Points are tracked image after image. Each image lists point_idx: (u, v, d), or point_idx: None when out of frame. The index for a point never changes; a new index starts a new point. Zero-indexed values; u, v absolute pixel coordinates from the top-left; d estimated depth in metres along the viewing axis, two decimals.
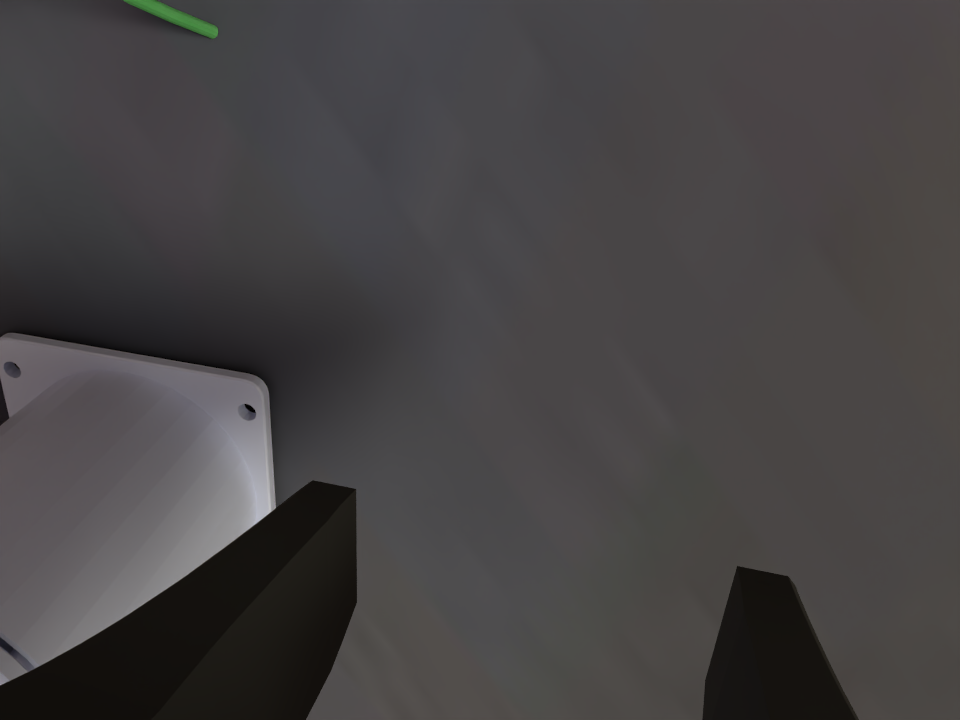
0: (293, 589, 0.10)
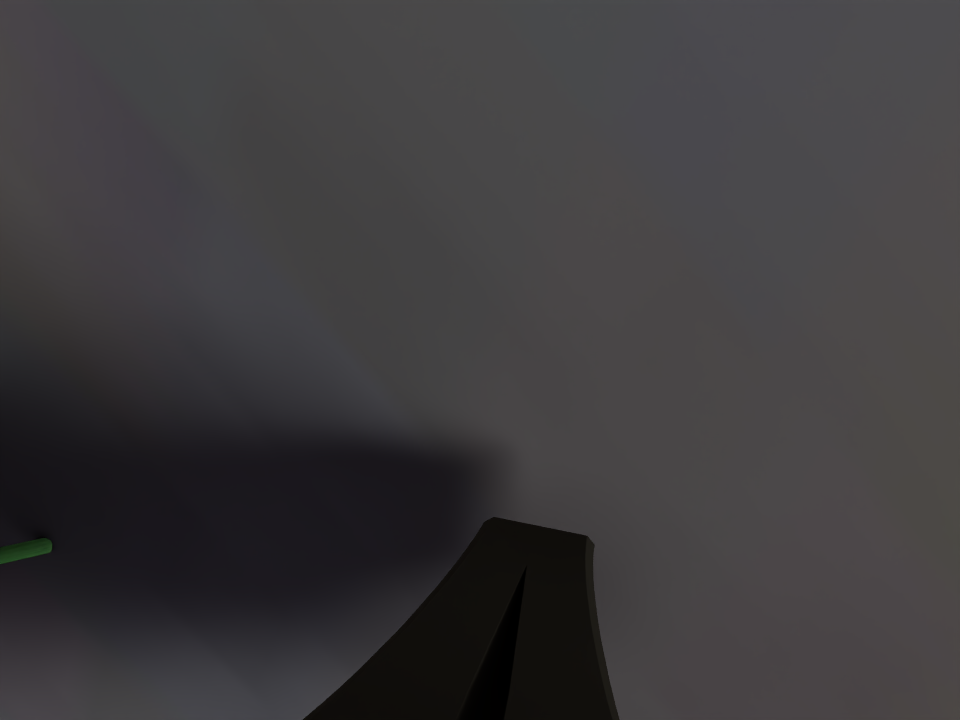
0: (504, 636, 0.10)
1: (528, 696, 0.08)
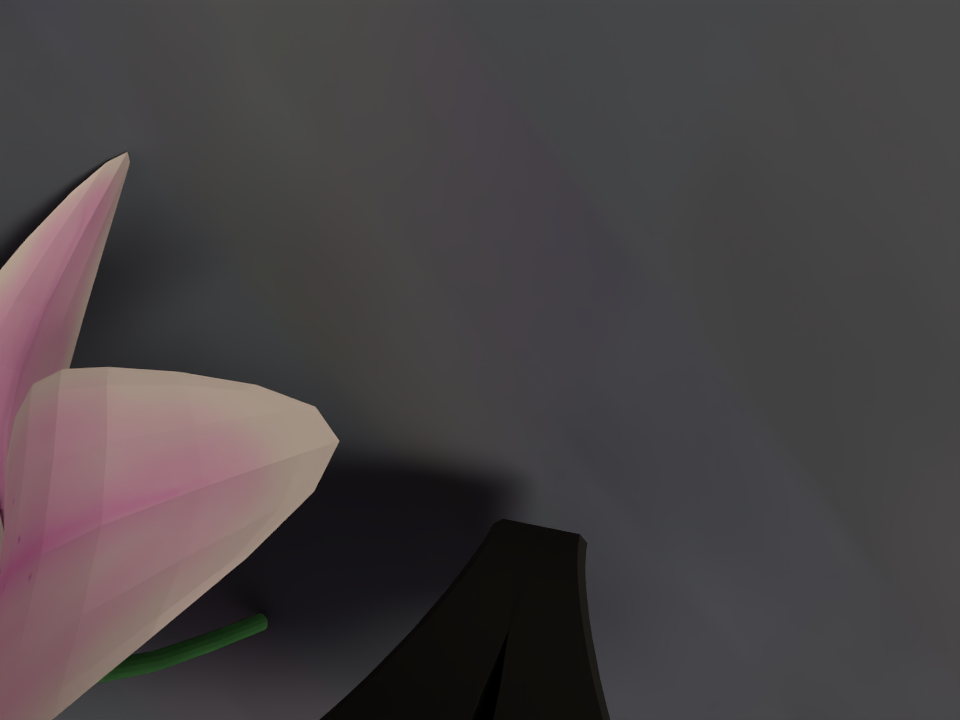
0: None
1: (519, 694, 0.08)
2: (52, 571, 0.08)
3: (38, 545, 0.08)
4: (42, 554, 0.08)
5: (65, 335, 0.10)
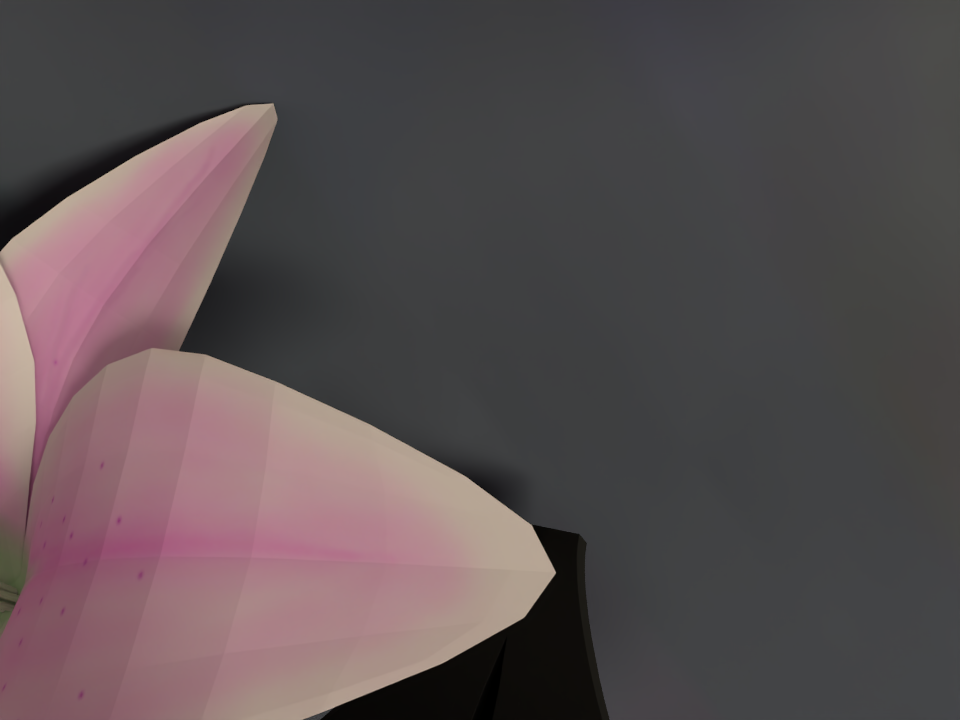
0: None
1: (517, 693, 0.08)
2: (176, 584, 0.07)
3: (148, 538, 0.08)
4: (160, 556, 0.08)
5: (179, 291, 0.09)
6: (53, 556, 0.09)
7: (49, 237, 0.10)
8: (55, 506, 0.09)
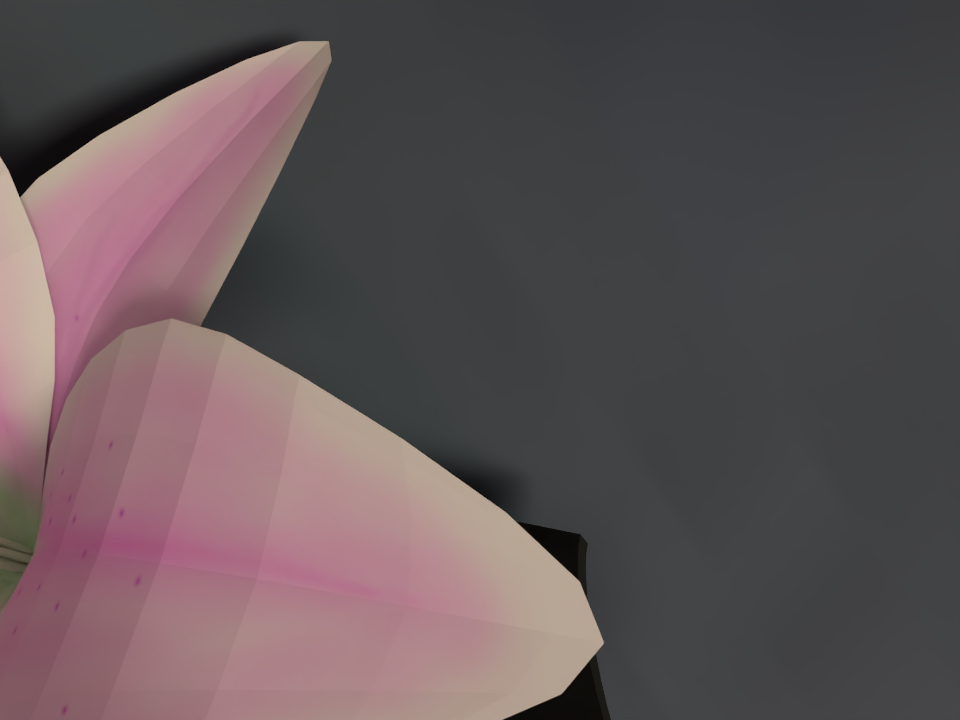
0: None
1: None
2: (174, 597, 0.06)
3: (150, 539, 0.07)
4: (160, 562, 0.07)
5: (208, 252, 0.08)
6: (56, 538, 0.08)
7: (77, 177, 0.09)
8: (64, 480, 0.08)
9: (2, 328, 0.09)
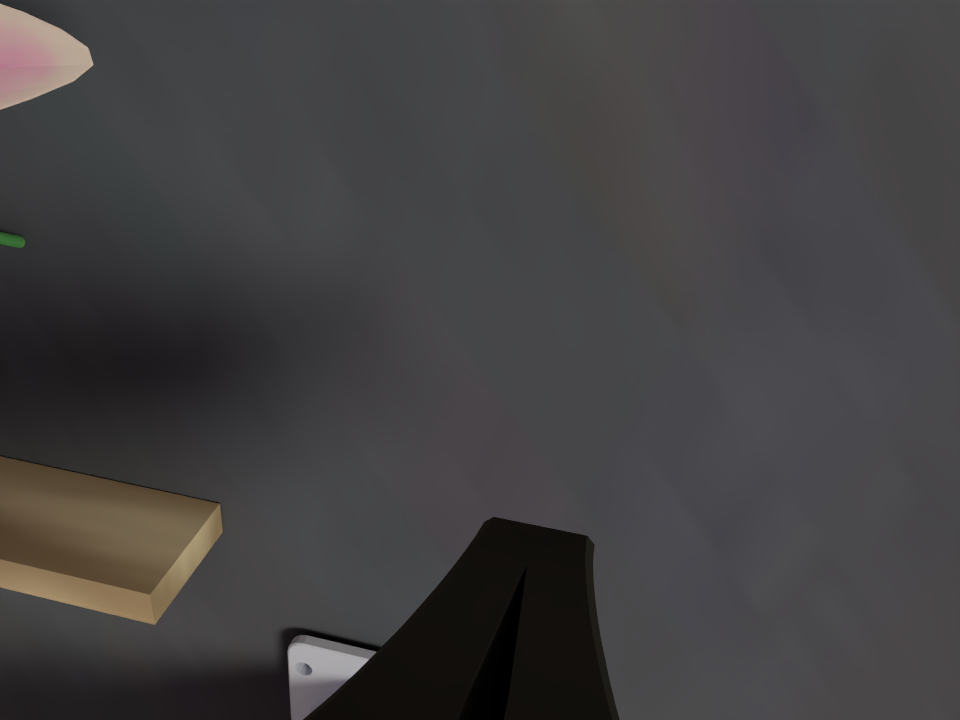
0: (503, 636, 0.10)
1: (528, 696, 0.08)
2: None
3: None
4: None
5: None
6: None
7: None
8: None
9: None
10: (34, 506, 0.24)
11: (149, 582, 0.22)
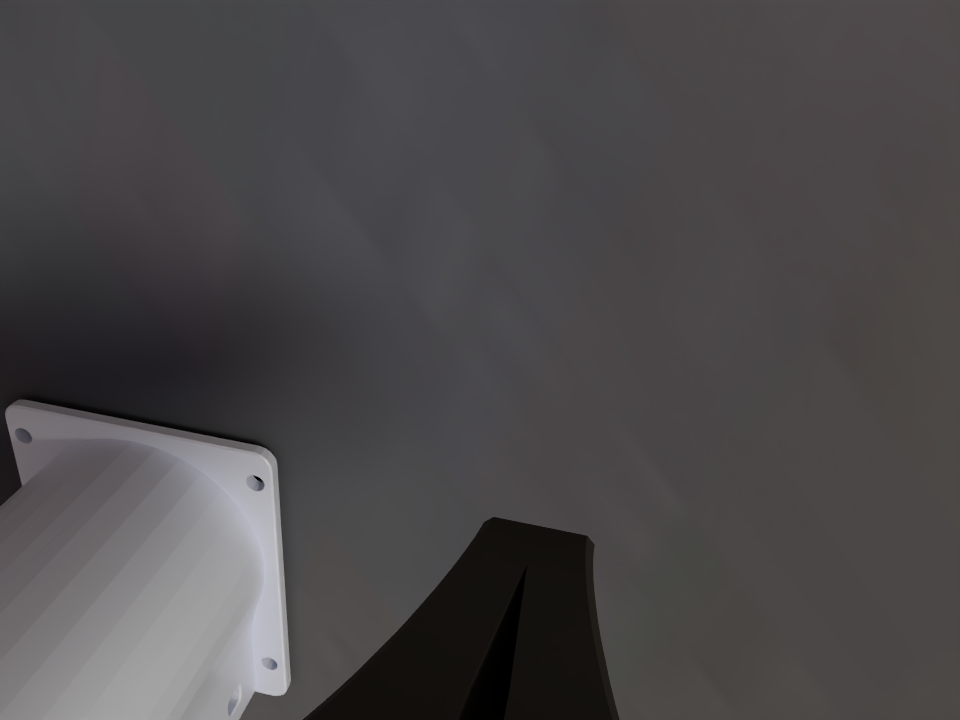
0: (503, 636, 0.10)
1: (528, 696, 0.08)
2: None
3: None
4: None
5: None
6: None
7: None
8: None
9: None
10: None
11: None
